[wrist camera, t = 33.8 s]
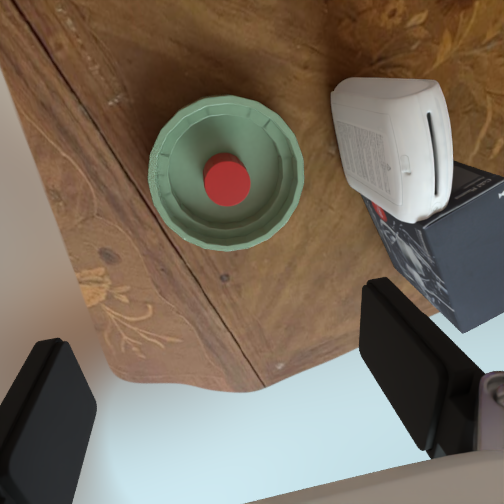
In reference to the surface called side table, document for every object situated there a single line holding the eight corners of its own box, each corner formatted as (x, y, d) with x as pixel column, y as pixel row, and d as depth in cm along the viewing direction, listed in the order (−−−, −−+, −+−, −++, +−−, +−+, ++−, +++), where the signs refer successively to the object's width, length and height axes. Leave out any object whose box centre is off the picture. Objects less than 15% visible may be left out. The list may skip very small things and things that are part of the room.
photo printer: (383, 175, 36) (470, 220, 25) (345, 191, 36) (414, 241, 25) (367, 69, 31) (467, 66, 20) (322, 87, 31) (397, 93, 20)
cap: (234, 145, 31) (240, 152, 28) (251, 184, 33) (257, 195, 30) (195, 163, 31) (195, 172, 28) (213, 200, 33) (216, 214, 30)
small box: (351, 181, 35) (421, 226, 24) (411, 142, 34) (510, 172, 24) (393, 270, 41) (464, 337, 31) (445, 239, 40) (536, 297, 30)
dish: (170, 243, 35) (167, 261, 32) (137, 104, 29) (129, 107, 26) (295, 223, 36) (306, 238, 33) (288, 85, 30) (301, 86, 27)
